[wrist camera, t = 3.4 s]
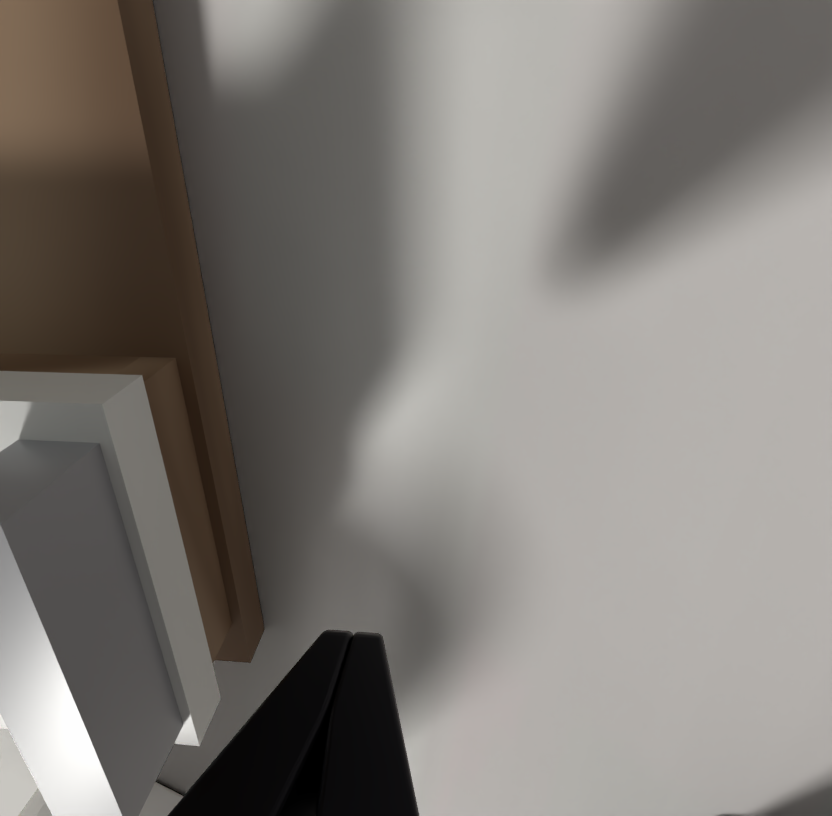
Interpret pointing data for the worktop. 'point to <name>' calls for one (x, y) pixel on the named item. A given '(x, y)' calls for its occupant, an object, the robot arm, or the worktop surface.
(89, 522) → the lid
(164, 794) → the white cup
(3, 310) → the board
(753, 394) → the worktop surface
